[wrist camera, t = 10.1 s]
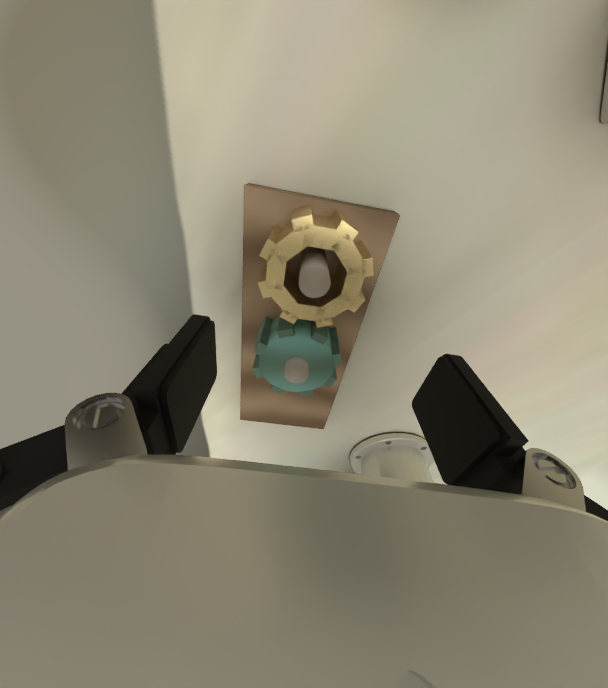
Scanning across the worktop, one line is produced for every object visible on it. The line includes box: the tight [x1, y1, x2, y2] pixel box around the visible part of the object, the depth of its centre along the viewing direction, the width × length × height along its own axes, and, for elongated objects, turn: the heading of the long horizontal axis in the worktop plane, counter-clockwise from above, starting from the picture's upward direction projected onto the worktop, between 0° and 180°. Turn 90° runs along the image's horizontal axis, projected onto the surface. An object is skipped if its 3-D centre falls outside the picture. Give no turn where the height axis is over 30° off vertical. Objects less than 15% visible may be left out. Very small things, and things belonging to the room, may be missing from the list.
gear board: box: [240, 183, 400, 429], centre depth 24 cm, size 26×11×6 cm, turn 171°
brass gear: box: [258, 204, 374, 328], centre depth 18 cm, size 8×8×4 cm
